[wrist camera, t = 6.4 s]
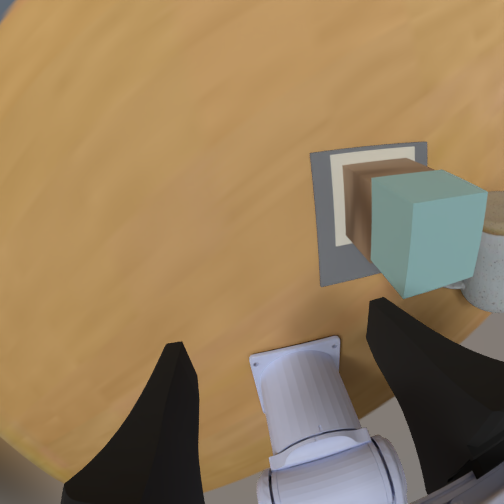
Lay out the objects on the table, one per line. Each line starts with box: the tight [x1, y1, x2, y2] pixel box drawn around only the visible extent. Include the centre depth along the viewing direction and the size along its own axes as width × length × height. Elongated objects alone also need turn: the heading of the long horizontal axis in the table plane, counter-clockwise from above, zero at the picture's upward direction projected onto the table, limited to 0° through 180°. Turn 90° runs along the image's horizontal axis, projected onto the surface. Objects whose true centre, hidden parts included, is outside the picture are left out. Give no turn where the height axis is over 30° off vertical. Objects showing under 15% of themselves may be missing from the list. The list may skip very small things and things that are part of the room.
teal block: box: [371, 170, 488, 299], centre depth 15 cm, size 5×5×4 cm
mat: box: [310, 142, 427, 287], centre depth 21 cm, size 10×9×1 cm
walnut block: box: [342, 158, 434, 263], centre depth 18 cm, size 5×5×4 cm
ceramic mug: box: [443, 191, 504, 313], centre depth 20 cm, size 11×8×8 cm
